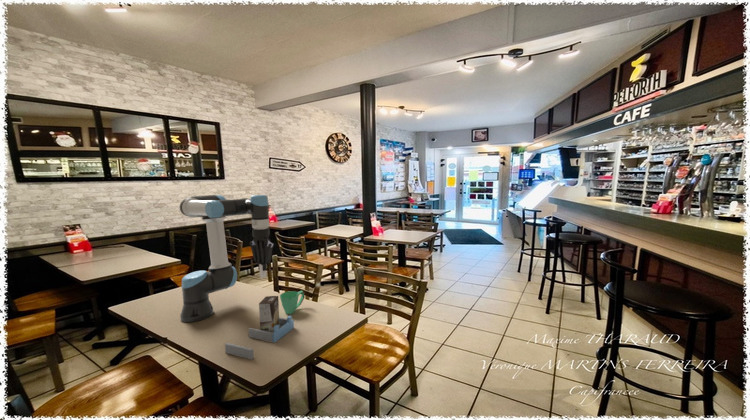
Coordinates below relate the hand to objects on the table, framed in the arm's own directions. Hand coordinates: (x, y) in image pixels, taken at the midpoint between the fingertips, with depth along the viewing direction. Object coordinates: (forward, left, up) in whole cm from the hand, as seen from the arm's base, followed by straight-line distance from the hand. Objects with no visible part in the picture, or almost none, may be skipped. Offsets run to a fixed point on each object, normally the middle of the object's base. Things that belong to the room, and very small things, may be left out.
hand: (263, 276), depth 136 cm
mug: (0, +22, -27) cm, 35 cm away
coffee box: (+3, -1, -27) cm, 27 cm away
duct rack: (+4, -7, -26) cm, 28 cm away
